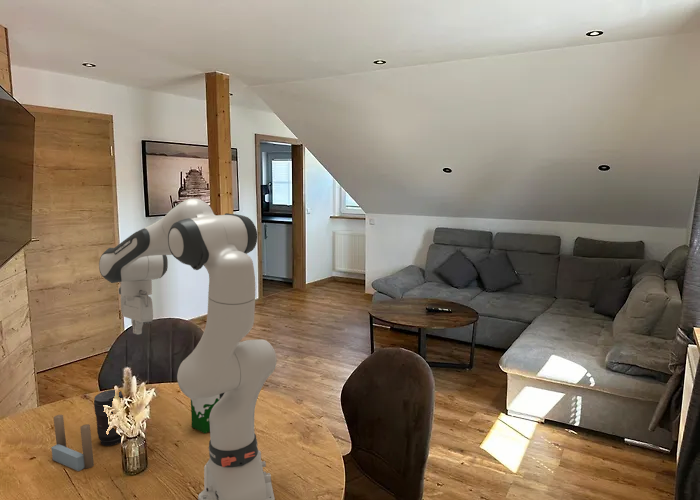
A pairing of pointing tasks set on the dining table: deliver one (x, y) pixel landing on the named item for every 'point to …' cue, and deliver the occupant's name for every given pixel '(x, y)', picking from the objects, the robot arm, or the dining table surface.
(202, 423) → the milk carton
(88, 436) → the peg rail
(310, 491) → the dining table surface
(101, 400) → the camera lens
